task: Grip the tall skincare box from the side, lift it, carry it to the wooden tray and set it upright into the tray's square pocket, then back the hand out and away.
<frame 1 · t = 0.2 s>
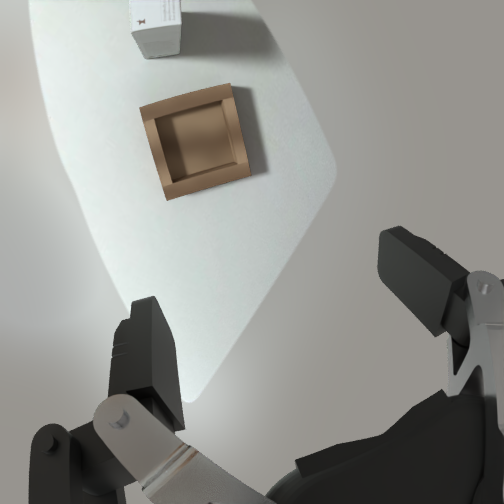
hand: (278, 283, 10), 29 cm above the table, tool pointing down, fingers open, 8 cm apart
wooden tray: (194, 139, 34), on the table
skincare box: (159, 34, 27), on the table
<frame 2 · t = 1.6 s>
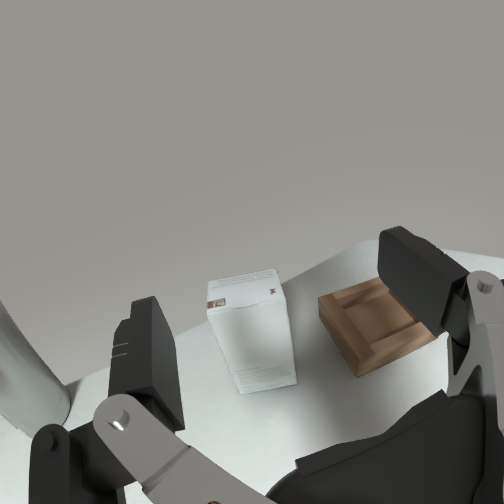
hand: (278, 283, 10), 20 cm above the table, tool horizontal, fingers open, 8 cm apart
wooden tray: (378, 327, 32), on the table
skincare box: (265, 377, 30), on the table
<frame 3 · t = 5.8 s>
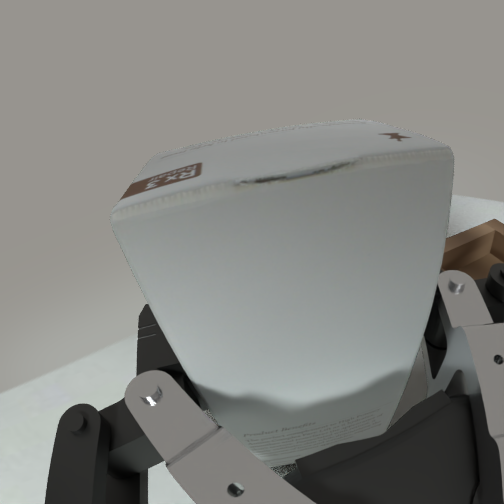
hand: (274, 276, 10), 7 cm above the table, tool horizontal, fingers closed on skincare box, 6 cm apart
wooden tray: (493, 309, 15), on the table
skincare box: (307, 427, 12), on the table, touching gripper
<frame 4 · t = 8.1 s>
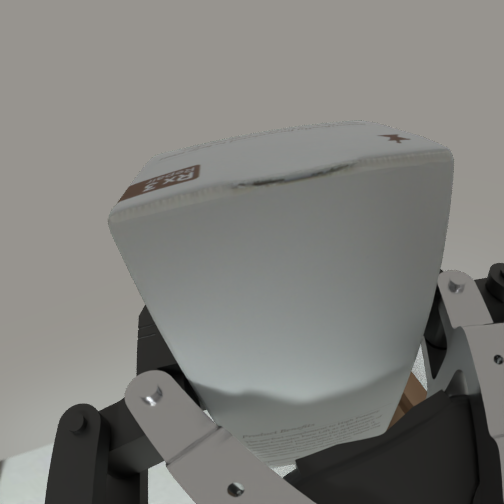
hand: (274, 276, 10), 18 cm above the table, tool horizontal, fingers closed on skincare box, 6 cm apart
wooden tray: (364, 441, 19), on the table
skincare box: (306, 428, 12), point 11 cm above the table, touching gripper
when the fingers open (9 cm above the table, at t = 10.6 s): skincare box drops 1 cm, resting on wooden tray.
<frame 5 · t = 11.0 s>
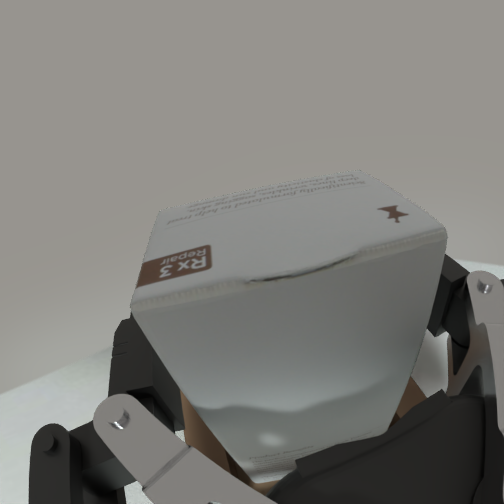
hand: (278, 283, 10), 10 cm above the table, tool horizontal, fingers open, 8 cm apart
wooden tray: (307, 444, 13), on the table
skincare box: (305, 442, 13), point 1 cm above the table, touching wooden tray
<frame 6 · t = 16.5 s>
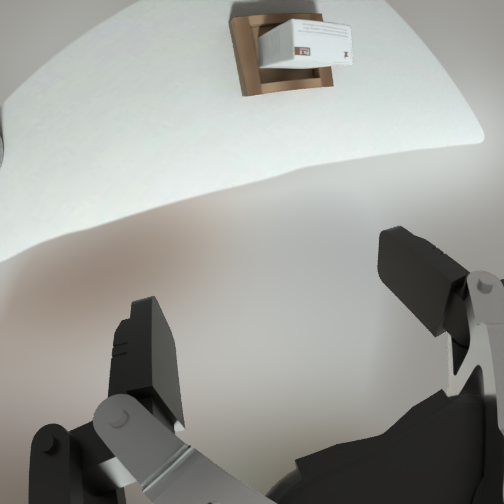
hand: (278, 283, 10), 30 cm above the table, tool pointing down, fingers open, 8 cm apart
wooden tray: (278, 53, 32), on the table
skincare box: (279, 54, 32), point 1 cm above the table, touching wooden tray
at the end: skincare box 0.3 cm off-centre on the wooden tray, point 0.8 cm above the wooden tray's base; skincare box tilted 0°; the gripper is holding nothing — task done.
